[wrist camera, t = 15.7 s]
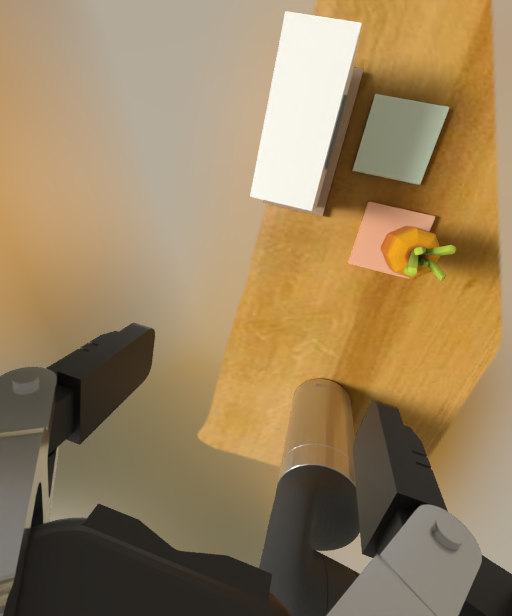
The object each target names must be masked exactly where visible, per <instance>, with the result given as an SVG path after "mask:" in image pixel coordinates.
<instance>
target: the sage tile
mask: <svg viewBox="0 0 512 616" xmlns="http://www.w3.org/2000/svg"><path fill="white" fill-rule="evenodd" d="M449 108H450V107H446V106H441V105H435V104H430V103H424V102H419V101H413V100H408V99H402V98H397V97H391V96H385V95H380V94H375V96H374V99H373V103H372V106H371V109H370V113H369V116H368V119H367V123H366V126H365V129H364V133H363V136H362V139H361V143H360V146H359V149H358V153H357V156H356V159H355V163H354V166H353V169H352V171H355V172H360V173H364V174H369V175H374V176H378V177H383V178H387V179H392V180H397V181H401V182H406V183H411V184H415V185H420V184H421V181H422V178H423V176H424V173H425V171H426V168H427V165H428V163H429V160H430V157H431V155H432V152H433V150H434V147H435V144H436V142H437V139H438V136H439V134H440V131H441V129H442V126H443V123H444V121H445V118H446V115H447V113H448V110H449Z"/></svg>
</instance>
